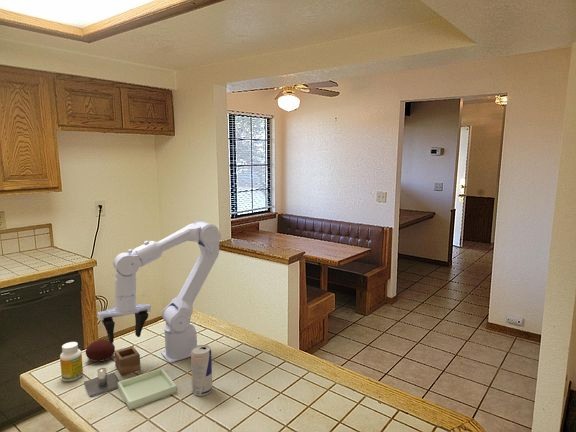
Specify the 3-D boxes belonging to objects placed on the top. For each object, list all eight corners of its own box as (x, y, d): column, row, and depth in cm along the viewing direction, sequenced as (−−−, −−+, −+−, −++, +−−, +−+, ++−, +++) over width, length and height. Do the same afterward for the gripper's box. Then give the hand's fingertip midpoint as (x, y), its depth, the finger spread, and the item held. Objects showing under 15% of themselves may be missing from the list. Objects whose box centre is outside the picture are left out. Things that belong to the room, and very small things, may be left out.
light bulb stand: (114, 374, 114) (113, 359, 113) (121, 386, 107) (120, 371, 107) (84, 383, 109) (82, 368, 108) (89, 397, 103) (88, 381, 102)
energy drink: (216, 387, 107) (214, 346, 106) (205, 398, 102) (204, 355, 101) (199, 383, 109) (197, 343, 107) (188, 394, 104) (186, 352, 102)
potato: (94, 352, 126) (93, 335, 126) (120, 353, 126) (118, 335, 125) (82, 364, 119) (80, 346, 118) (108, 365, 119) (107, 346, 118)
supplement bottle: (73, 382, 109) (71, 350, 108) (57, 380, 110) (54, 348, 109) (87, 372, 115) (84, 341, 113) (71, 370, 116) (68, 339, 114)
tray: (162, 374, 114) (161, 367, 113) (176, 392, 105) (176, 385, 105) (118, 388, 106) (117, 382, 106) (129, 409, 98) (129, 402, 97)
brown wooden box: (115, 366, 118) (114, 350, 117) (133, 360, 121) (132, 345, 121) (121, 376, 113) (120, 360, 112) (140, 370, 116) (139, 354, 115)
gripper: (145, 287, 122) (144, 328, 123) (94, 294, 112) (94, 339, 114) (153, 293, 116) (152, 336, 118) (102, 301, 107) (101, 348, 108)
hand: (124, 338), depth 115 cm, fingers open, 7 cm apart
